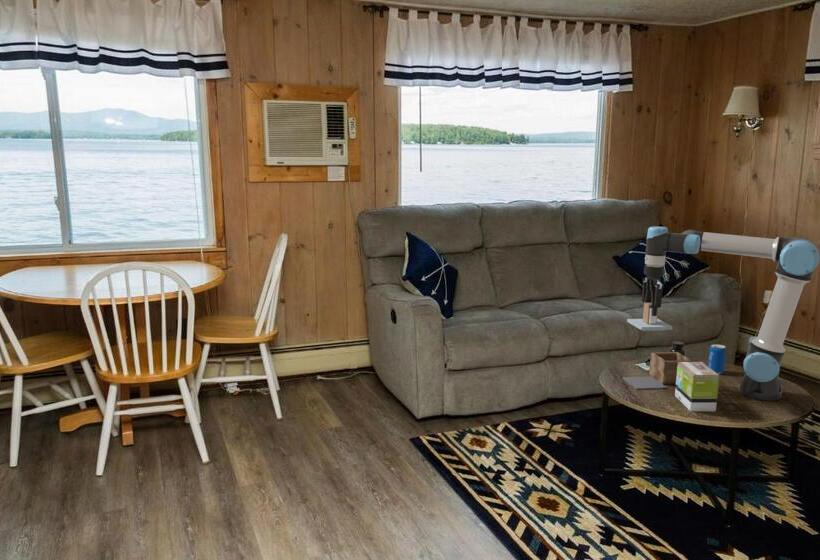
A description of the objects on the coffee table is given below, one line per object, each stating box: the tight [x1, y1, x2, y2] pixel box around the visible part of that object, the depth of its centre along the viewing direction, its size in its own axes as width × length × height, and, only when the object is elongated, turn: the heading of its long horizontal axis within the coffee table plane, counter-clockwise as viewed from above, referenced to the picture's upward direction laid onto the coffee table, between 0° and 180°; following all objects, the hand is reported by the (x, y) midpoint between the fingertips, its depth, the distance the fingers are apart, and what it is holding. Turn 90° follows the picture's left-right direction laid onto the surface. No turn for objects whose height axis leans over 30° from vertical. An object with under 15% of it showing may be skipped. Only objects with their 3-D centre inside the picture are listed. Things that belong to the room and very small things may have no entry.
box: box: [648, 351, 693, 385], centre depth 272 cm, size 12×12×10 cm
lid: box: [626, 302, 674, 332], centre depth 262 cm, size 13×13×10 cm
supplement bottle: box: [668, 341, 687, 357], centre depth 286 cm, size 7×7×12 cm
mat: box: [622, 375, 668, 390], centre depth 268 cm, size 13×13×1 cm
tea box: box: [674, 361, 720, 412], centre depth 245 cm, size 15×10×15 cm
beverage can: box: [707, 343, 727, 375], centre depth 281 cm, size 6×6×12 cm
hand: (649, 321), depth 263 cm, fingers closed on lid, 4 cm apart
